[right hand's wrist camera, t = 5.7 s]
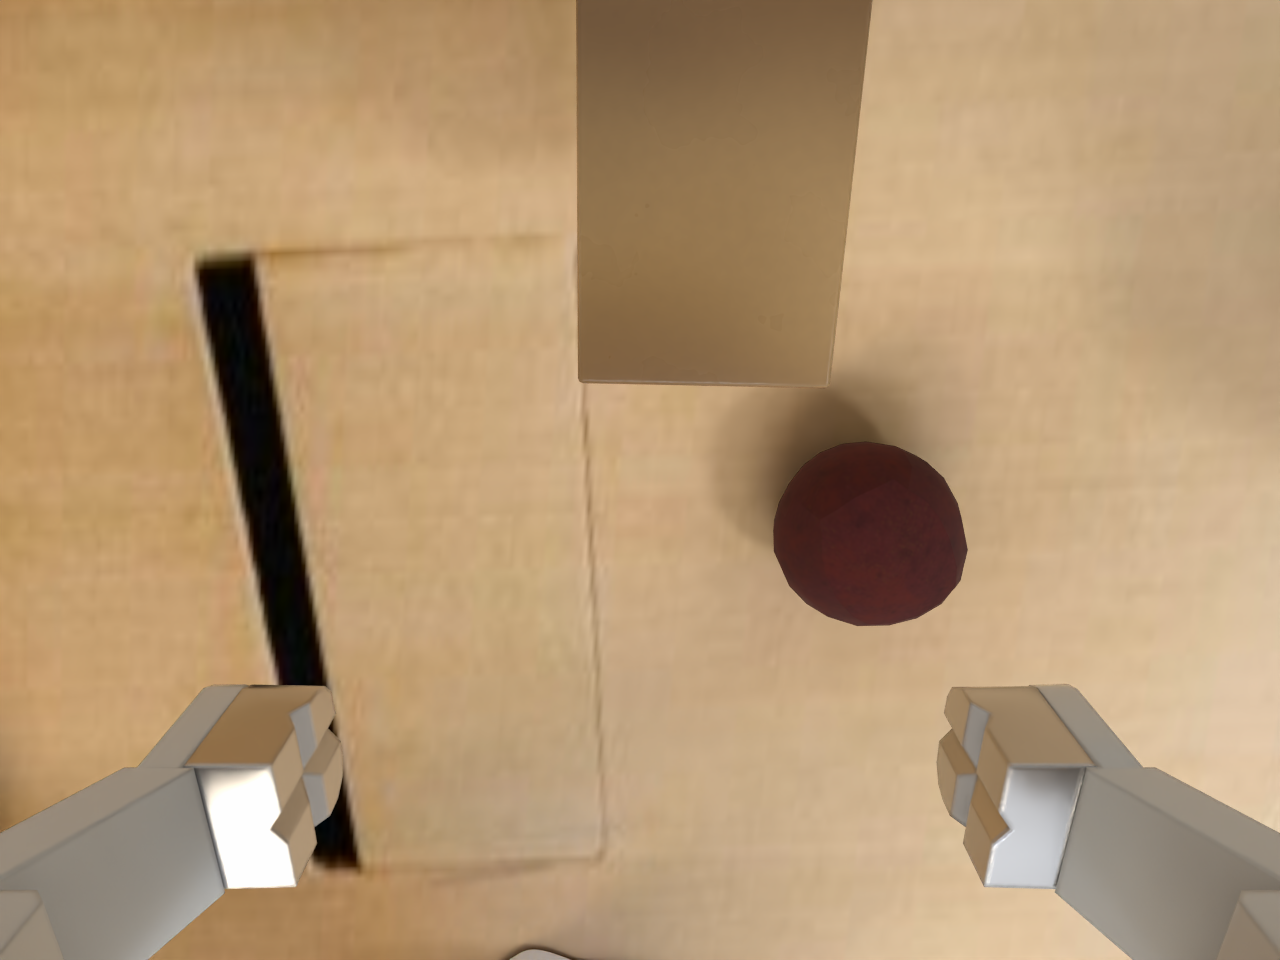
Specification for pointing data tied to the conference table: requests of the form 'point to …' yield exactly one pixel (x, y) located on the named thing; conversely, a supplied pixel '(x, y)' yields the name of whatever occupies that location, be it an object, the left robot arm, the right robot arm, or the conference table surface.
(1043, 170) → the conference table surface
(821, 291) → the bar
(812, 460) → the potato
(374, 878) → the conference table surface
